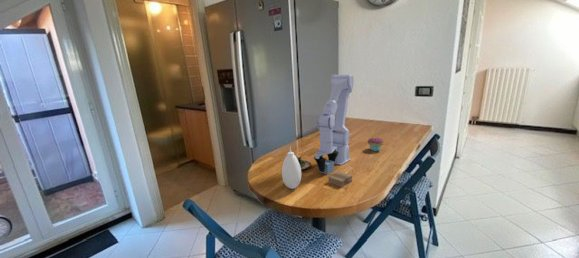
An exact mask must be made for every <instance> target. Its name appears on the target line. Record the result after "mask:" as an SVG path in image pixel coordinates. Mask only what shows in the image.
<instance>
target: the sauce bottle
mask: <svg viewBox="0 0 579 258" xmlns="http://www.w3.org/2000/svg"><path fill="white" fill-rule="evenodd" d="M281 178H282V181H283V183H284V185H285V186H286V187H287V188H288V189H291V190H294V189H296V188H297V187H298V186H299V185H300V183H301V180H302V170H301V167H300V164H299V161H298V159H297V158H296V155H295V152H293V151H292V147H291V146H289V151H288V152H287V153H286V155H285V158H284V160H283V163H282V169H281Z"/></svg>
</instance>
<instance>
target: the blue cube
mask: <svg viewBox="0 0 579 258" xmlns="http://www.w3.org/2000/svg"><path fill="white" fill-rule="evenodd" d="M334 172H335V163H334V161H331V160H329V159H327V158H326V161H325V165H324V172H321V171H319V170H318V173H322V174H325V175H330V174H333V173H334Z"/></svg>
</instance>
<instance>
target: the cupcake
mask: <svg viewBox="0 0 579 258" xmlns="http://www.w3.org/2000/svg"><path fill="white" fill-rule="evenodd" d="M371 132H372V133H371V134H372V137H370V138H369V139H368V140H367V144H368V145H369V148H370V150H371V151H374V152H378V151H380V150H381V147H382V146H383V145H384V143H385V142H384V139H382V138H381V137H377V136H376V137H375V133H374V130H373V129H372V131H371Z"/></svg>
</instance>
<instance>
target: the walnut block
mask: <svg viewBox="0 0 579 258" xmlns="http://www.w3.org/2000/svg"><path fill="white" fill-rule="evenodd" d="M352 181H353V175H352V174H351V175H350V174H348V173H344V172H342V171H336V172H335V173H334V172H333V173H332V174H331V175H329V176H328V184H329V183H330V184H332V185H335V186H337V187H340V188H344V187H345V186H347V185H349V184H350V183H352Z"/></svg>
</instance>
